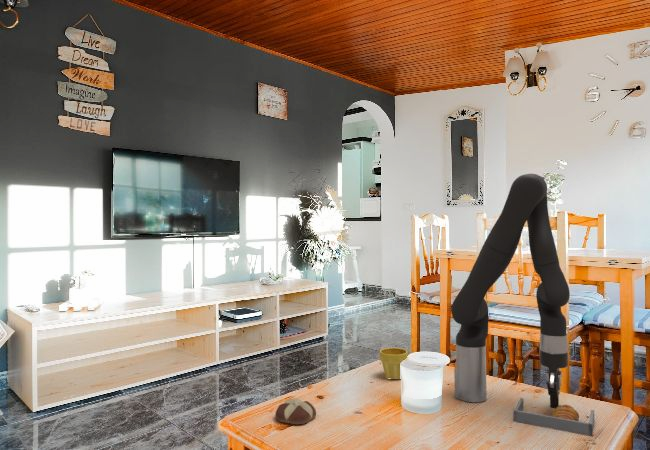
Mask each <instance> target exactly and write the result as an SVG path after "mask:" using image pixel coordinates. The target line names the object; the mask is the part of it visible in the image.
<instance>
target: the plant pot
mask: <svg viewBox="0 0 650 450" xmlns="http://www.w3.org/2000/svg"><path fill="white" fill-rule="evenodd" d="M407 356H408V357H409V352H408V350H407V349H405V348H402V347H386V348H381V349H380V350H379V360H380V362H381V363H382V367H383V368H382V369H383V373H384V377H385V376H386V377H387V378H391V379H400V363H401V362H402V361H403V360H405V359H406V358H407ZM386 377H385V378H386ZM387 378H386V379H387ZM400 380H401V379H400Z"/></svg>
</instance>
